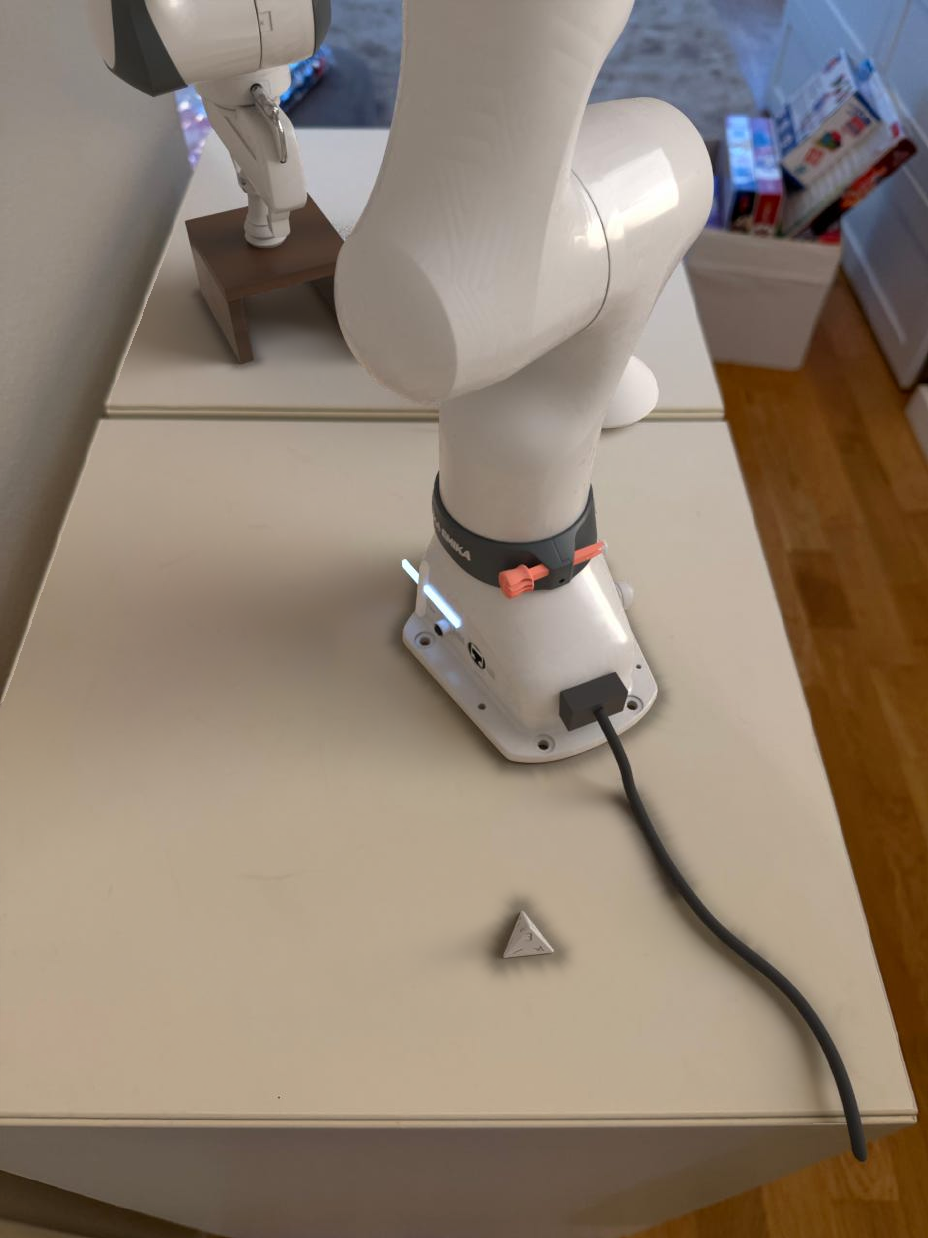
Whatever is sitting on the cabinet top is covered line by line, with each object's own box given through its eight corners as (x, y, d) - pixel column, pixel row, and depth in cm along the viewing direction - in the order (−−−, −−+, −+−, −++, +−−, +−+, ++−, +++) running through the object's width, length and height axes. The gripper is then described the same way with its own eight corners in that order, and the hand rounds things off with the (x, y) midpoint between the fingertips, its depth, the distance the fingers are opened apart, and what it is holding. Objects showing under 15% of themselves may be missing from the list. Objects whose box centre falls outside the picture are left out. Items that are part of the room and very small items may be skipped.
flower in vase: (661, 440, 92) (721, 199, 72) (547, 437, 92) (575, 195, 72) (648, 358, 100) (698, 120, 80) (543, 355, 100) (567, 116, 80)
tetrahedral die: (538, 978, 62) (556, 972, 59) (502, 957, 61) (518, 950, 59) (556, 930, 64) (574, 923, 61) (521, 910, 63) (538, 901, 61)
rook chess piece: (287, 225, 98) (276, 149, 92) (289, 248, 96) (278, 172, 89) (244, 228, 98) (230, 152, 91) (246, 251, 95) (231, 175, 89)
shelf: (362, 329, 102) (355, 255, 95) (240, 364, 98) (224, 289, 91) (316, 264, 110) (307, 191, 103) (202, 294, 106) (184, 220, 99)
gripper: (314, 106, 79) (330, 254, 90) (238, 17, 90) (261, 159, 101) (243, 120, 77) (268, 270, 88) (174, 28, 88) (205, 171, 99)
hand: (264, 210), depth 94 cm, fingers open, 8 cm apart
